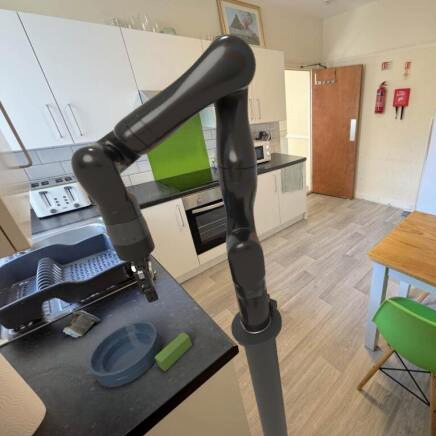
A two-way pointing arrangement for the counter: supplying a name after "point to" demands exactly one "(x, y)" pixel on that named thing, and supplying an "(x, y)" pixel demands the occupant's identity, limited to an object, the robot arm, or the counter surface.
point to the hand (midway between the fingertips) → (152, 289)
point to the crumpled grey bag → (80, 323)
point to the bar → (173, 351)
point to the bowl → (125, 354)
